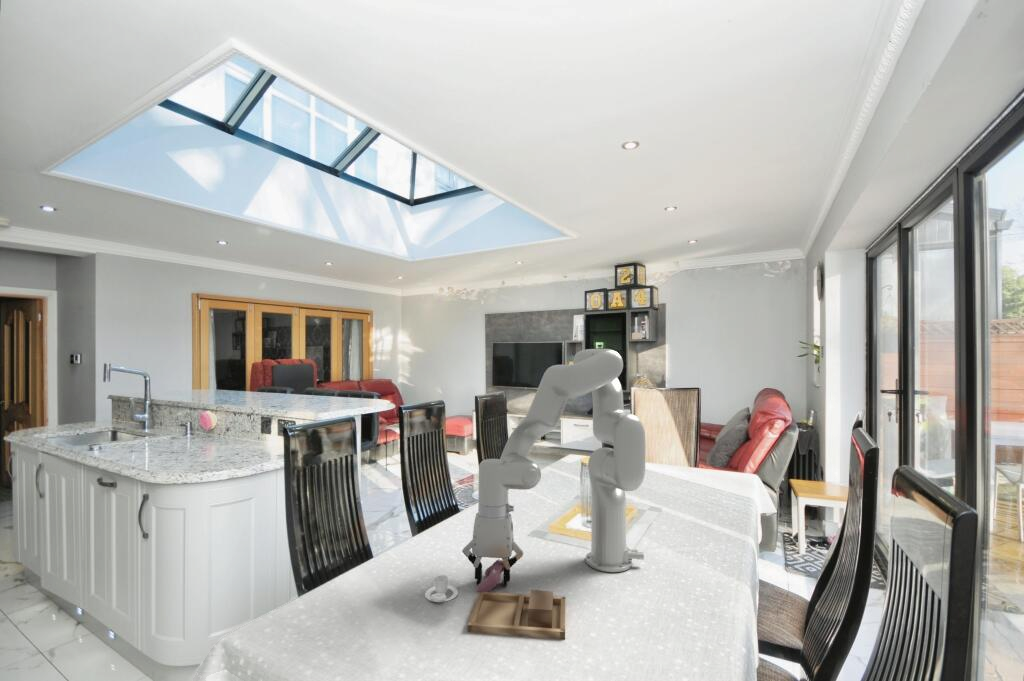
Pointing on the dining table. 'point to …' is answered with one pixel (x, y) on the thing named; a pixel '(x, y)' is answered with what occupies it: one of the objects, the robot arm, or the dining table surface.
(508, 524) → the robot arm
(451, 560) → the dining table surface
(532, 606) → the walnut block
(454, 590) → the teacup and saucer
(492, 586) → the video game controller
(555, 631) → the oak organiser tray
